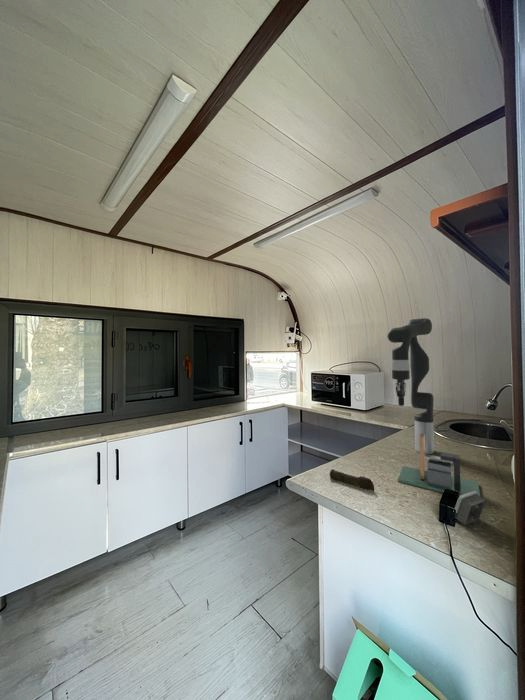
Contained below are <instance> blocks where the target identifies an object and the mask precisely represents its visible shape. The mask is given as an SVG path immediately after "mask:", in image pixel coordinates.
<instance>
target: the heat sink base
mask: <svg viewBox="0 0 525 700" xmlns="http://www.w3.org/2000/svg"><path fill="white" fill-rule="evenodd" d="M439 457H440V458H441V460H446V461H452V462H453V474H452V464H450V463H445V462H439V461H434V460H429V459H427V470H426V475H425V479H420V468H413V467H408V466H405V465H403V467H402V469H401V471H400V473H399V476H398V477H397V482H398V483H401V484H406V485H410V486H414V487H418V488H422V489H426V490H430V491H434V492H438V493H442V494H444V493H443V491H444V490H445V489H449V490H453V491H457V492H458V493H459V495H460V496H461V495H464V494H466V493H469V492H472V491H476V492H478V494H477V495H478V496H480V497H481V493H480V487H479V482H478V481H475V480H470V479H466V478H461V459H460V458H461V455H460V454H456V453H455V454H454V453H449V452H444V451H441V452H440V456H439Z"/></svg>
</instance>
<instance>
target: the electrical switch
mask: <svg viewBox="0 0 525 700" xmlns="http://www.w3.org/2000/svg"><path fill="white" fill-rule="evenodd" d="M477 494H478V492H476V491H472V492H469V493H466V494H464V495H461V496H459V497H458V496H457V497H458V498H457V499H456V500H457V501H456V503H455V506H454V509H455V510H456V513H457V518H456V519H457V520H456V521H458V522H459V523H461V524H462V525H464V526H468V525H469V524H472V523H473V522H476V521H478V520H480V518H481V515H482V513H483V509H484V506H485V503H486V499H484V498H483V497H481V495H480V496H478V495H477Z"/></svg>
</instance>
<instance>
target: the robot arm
mask: <svg viewBox="0 0 525 700" xmlns="http://www.w3.org/2000/svg"><path fill="white" fill-rule="evenodd" d="M407 323H408V324H406V325H404V326H403V325H402V326H401V327H393V328H390V329H388V332H387V336H386V337H387V340H388V341H389V342H390V343H393V344H394V343H396V344H397V343H401V345H400V346H398V347H394V348H393V349H392V350H391V357H392V361H391V378H392V379H393V380H396V383H395V392H396V396H397V399H398V406H402V407H403V406H404V405H405V396H406V391H407V390H406V388H407V383H406V382H405V380H406V381H407V380H410V378H411V383H410V384H411V385H410V386H411V387H410V388H411V391H410V401H411V402H410V403H411V406H412V408H415V409H420V410H425V411H424V412H422V413H417V414H415V415H414V417H413V418H414V419H413V420H414V449H415V450H414V451H416V452H417V453H420V443H419V436H420V434H421V433H422V434H425V454H427V455H432V454H434V453H435V440H434V438H435V435H434V434H435V433H434V432H435V431H434V430H435V429H434V395H433V393H431V392H421V391H420V392H419V387H420V385H421V384H422V381H423V380H424V379H425V378H426V376H427V375H428V373H429V371H430V358H429V356H428V354H427V353H426V351H425V350H424V349H423V348H422V346H421V345H420V343H419V341H418V337H417V336H425V335H429V334H430V333H431V332H432V330H433V324H432V320H430V318H426V317H425V318H423V317H422V318H414V319H413V318H412V319H410V320H409V321H408V322H407ZM409 353H410V357H409ZM409 358H410V360H409ZM409 361H410V362H409Z"/></svg>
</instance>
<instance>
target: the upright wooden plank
mask: <svg viewBox="0 0 525 700" xmlns="http://www.w3.org/2000/svg"><path fill="white" fill-rule="evenodd" d="M419 443H420V452H419V470H420V479H425V475H426V471H427V470H426V460H434V461H439V462H445V463H450V464H451V465H453V464H454V462H452V461H446V460H441V458H440V456H437V455H432V454H425V434H422V433H421V434H420V436H419Z"/></svg>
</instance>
